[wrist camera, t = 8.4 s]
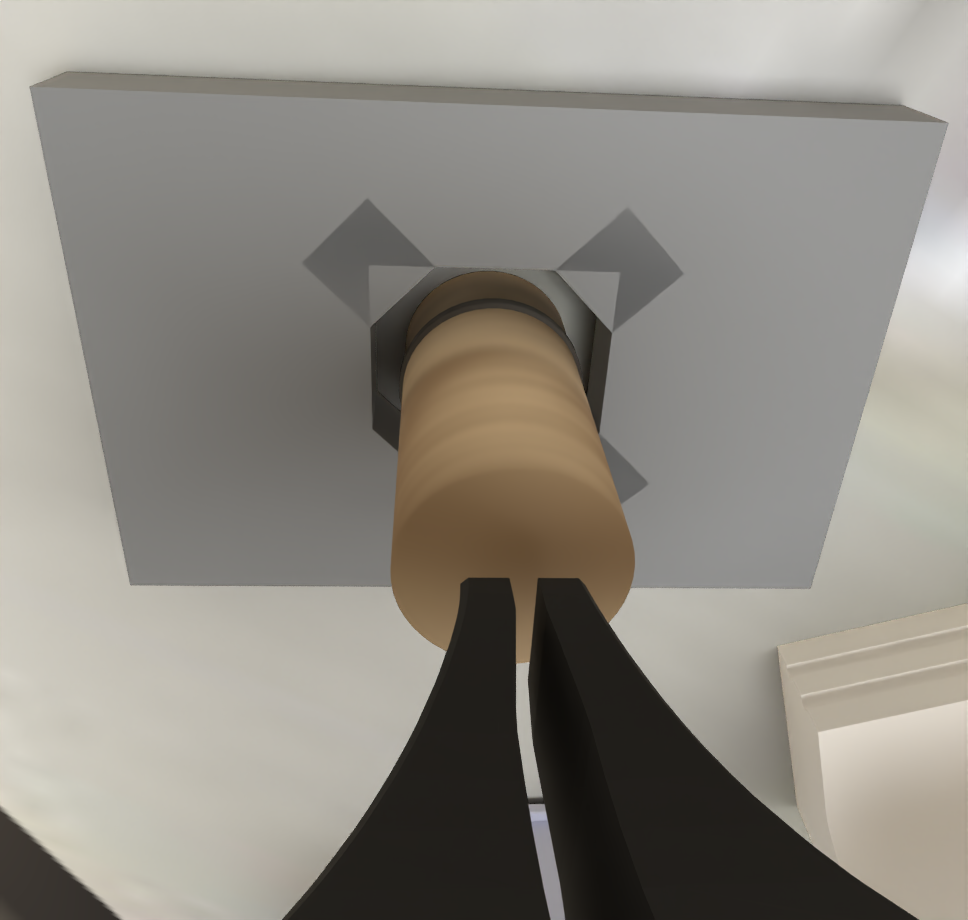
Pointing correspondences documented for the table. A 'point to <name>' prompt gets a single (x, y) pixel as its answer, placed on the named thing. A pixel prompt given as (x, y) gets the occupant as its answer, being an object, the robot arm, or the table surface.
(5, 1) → the table surface
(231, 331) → the slate board
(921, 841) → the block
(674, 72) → the table surface
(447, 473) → the oak peg
